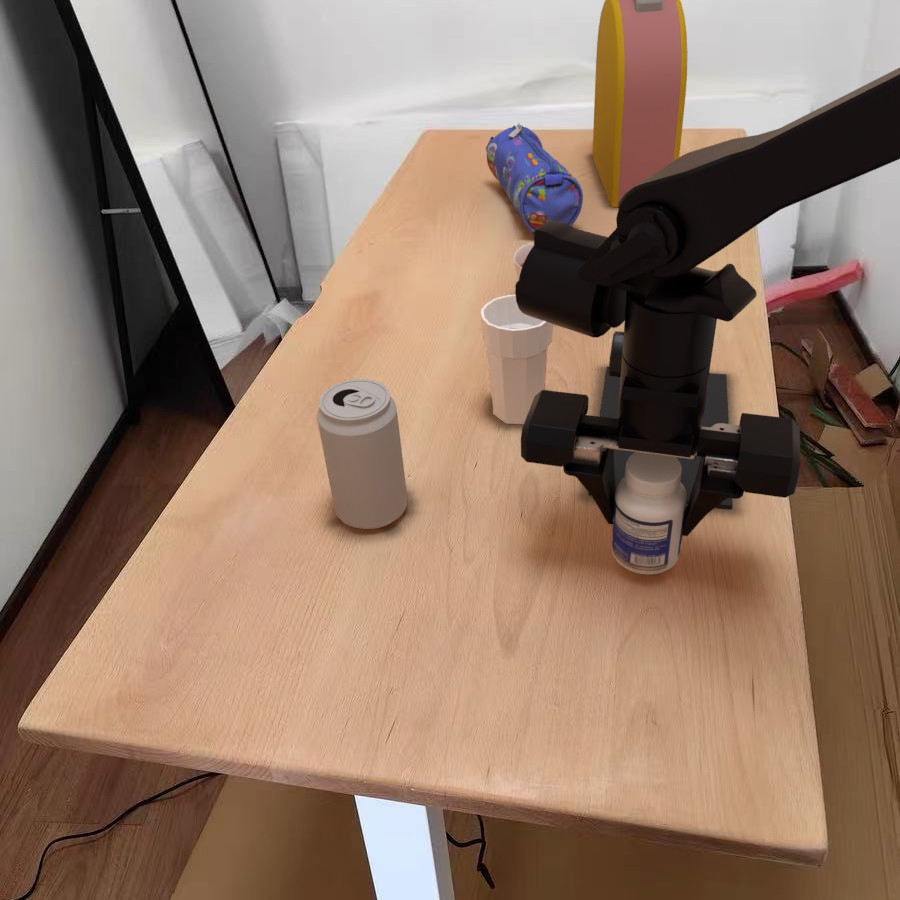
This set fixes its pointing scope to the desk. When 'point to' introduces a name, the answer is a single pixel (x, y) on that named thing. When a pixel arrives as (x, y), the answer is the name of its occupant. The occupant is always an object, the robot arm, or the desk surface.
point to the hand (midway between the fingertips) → (648, 526)
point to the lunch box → (638, 91)
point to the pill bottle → (649, 514)
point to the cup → (514, 357)
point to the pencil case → (533, 178)
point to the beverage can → (363, 453)
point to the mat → (712, 415)
